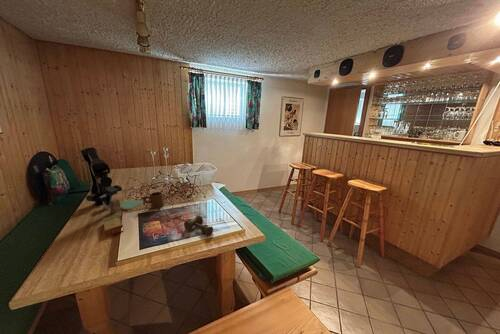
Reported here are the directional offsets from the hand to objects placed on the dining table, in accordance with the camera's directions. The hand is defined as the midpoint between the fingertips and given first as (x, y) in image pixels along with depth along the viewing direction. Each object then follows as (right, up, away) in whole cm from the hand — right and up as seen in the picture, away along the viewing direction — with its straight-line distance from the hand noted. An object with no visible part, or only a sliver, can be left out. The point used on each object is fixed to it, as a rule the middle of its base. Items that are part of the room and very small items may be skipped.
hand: (107, 205), depth 122 cm
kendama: (+61, -11, -14) cm, 64 cm away
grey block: (-7, -4, +11) cm, 14 cm away
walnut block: (+1, -5, +6) cm, 8 cm away
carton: (+12, -11, -12) cm, 20 cm away
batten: (+2, -4, +9) cm, 10 cm away
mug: (+24, -4, +11) cm, 27 cm away
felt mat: (+4, -2, +16) cm, 17 cm away
